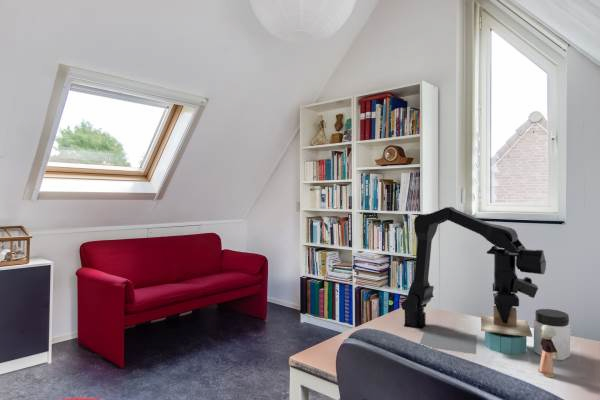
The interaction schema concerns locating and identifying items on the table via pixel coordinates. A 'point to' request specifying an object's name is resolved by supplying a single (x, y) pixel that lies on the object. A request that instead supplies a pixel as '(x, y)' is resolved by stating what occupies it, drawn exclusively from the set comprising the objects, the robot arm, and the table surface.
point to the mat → (449, 341)
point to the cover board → (504, 329)
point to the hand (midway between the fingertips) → (504, 321)
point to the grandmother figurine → (547, 351)
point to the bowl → (505, 343)
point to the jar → (560, 326)
